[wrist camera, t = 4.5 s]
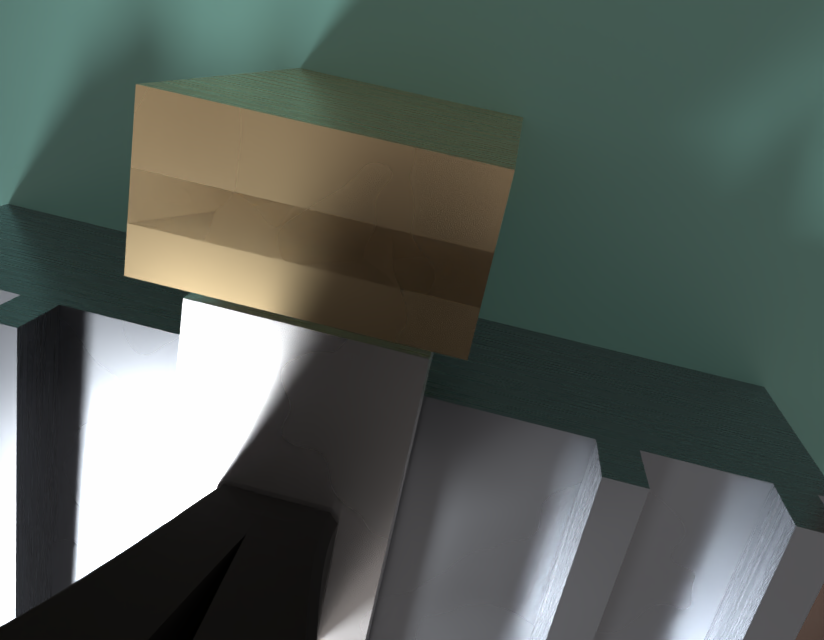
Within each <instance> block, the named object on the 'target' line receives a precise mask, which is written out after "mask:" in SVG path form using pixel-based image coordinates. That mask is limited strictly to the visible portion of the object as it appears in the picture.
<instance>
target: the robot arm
mask: <svg viewBox="0 0 824 640" xmlns="http://www.w3.org/2000/svg"><path fill="white" fill-rule="evenodd" d="M337 525H338V524H337V522H336V521H335V519H334V518H333V516H332V515H331V513H330V512H326V511H322V510H319V509H315V508H311V507H307V506H303V505H300V504H296V503H292V502H288V501H284V500H281V499H277V498H273V497H269V496H266V495H262V494H258V493H254V492H250V491H247V490H243V489H239V488H235V487H231V486H228V485H222V486H220V487H218V488H217V489H215V490H213V491H211V492H210V493H208V494H207V495H205V496H204V497H203V498H201V499H200V500H198V501H197V502H195V503H194V504H192V505H191V506H189V507H188V508H186V509H185V510H184V511H182V512H181V513H179V514H178V515H176V516H175V517H173V518H172V519H170V520H169V521H168V522H166V523H165V524H163V525H162V526H160V527H159V528H157V529H156V530H154V531H153V532H151V533H150V534H148V535H147V536H145V537H144V538H142V539H141V540H139V541H138V542H136V543H135V544H133V545H132V546H130V547H129V548H127V549H126V550H124V551H123V552H121V553H120V554H118V555H117V556H115V557H114V558H112V559H110V560H109V561H107V562H106V563H104V564H103V565H101V566H99V567H98V568H96V569H95V570H93V571H92V572H90V573H88V574H87V575H85V576H84V577H82V578H81V579H79V580H77V581H76V582H74V583H73V584H71V585H70V586H68V587H66V588H65V589H63V590H62V591H60V592H58V593H57V594H55V595H54V596H52V597H50V598H49V599H47V600H45V601H44V602H42V603H40V604H39V605H37V606H35V607H33V608H32V609H30V610H28V611H26V612H25V613H23V614H21V615H20V616H18V617H16V618H14V619H13V620H11V621H9V622H7V623H6V624H4V625H2V626H0V640H317V627H318V622H319V617H320V611H321V606H322V601H323V596H324V591H325V586H326V581H327V576H328V571H329V566H330V561H331V556H332V550H333V545H334V540H335V535H336V530H337Z"/></svg>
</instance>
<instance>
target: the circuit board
mask: <svg viewBox="0 0 824 640" xmlns="http://www.w3.org/2000/svg"><path fill="white" fill-rule="evenodd" d="M294 68H303V69H307V70H312V71H316V72H321V73H325V74H330V75H334V76H339V77H343V78H348V79H352V80H357V81H361V82H366V83H370V84H375V85H379V86H384V87H388V88H393V89H397V90H402V91H406V92H411V93H415V94H420V95H424V96H429V97H433V98H438V99H442V100H447V101H451V102H456V103H460V104H465V105H469V106H474V107H478V108H483V109H487V110H492V111H496V112H501V113H505V114H510V115H514V116H519V117H523V121H522V128H521V134H520V141H519V147H518V153H517V160H516V166H515V172H514V176H513V180H512V184H511V188H510V192H509V196H508V200H507V204H506V208H505V212H504V216H503V220H502V224H501V228H500V232H499V236H498V240H497V244H496V248H495V252H494V256H493V260H492V264H491V268H490V272H489V276H488V280H487V284H486V288H485V292H484V296H483V300H482V304H481V308H480V312H479V316H478V318H482V319H486V320H490V321H494V322H498V323H502V324H507V325H511V326H515V327H519V328H523V329H527V330H531V331H536V332H540V333H544V334H548V335H552V336H556V337H560V338H564V339H569V340H573V341H577V342H581V343H585V344H589V345H593V346H597V347H602V348H606V349H610V350H614V351H618V352H622V353H626V354H630V355H635V356H639V357H643V358H647V359H651V360H655V361H659V362H664V363H668V364H672V365H676V366H680V367H684V368H688V369H692V370H697V371H701V372H705V373H709V374H713V375H717V376H721V377H725V378H730V379H734V380H738V381H742V382H746V383H750V384H754V385H758V386H763V387H765V389H766V390H767V392H768V393H769V395H770V396H771V398H772V399H773V401H774V402H775V404H776V405H777V407H778V408H779V410H780V411H781V413H782V414H783V416H784V417H785V419H786V420H787V421H788V423H789V424H790V426H791V427H792V429H793V430H794V432H795V433H796V435H797V436H798V438H799V439H800V441H801V442H802V444H803V445H804V447H805V448H806V450H807V451H808V453H809V454H810V456H811V457H812V459H813V460H814V462H815V463H816V465H817V466H818V468H819V469H820V471H821V472H822V474H823V475H824V0H0V206H2V205H6V204H11V205H15V206H19V207H24V208H28V209H32V210H36V211H40V212H44V213H48V214H52V215H57V216H61V217H65V218H69V219H73V220H77V221H81V222H85V223H90V224H94V225H98V226H102V227H106V228H110V229H114V230H118V231H123V232H127V219H128V203H129V187H130V170H131V154H132V137H133V121H134V104H135V88H136V84H140V83H151V82H161V81H171V80H181V79H191V78H202V77H212V76H222V75H232V74H243V73H253V72H263V71H273V70H284V69H294Z"/></svg>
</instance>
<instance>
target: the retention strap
mask: <svg viewBox="0 0 824 640" xmlns="http://www.w3.org/2000/svg"><path fill="white" fill-rule="evenodd" d="M433 354H434V352H431V351H427V350H423V349H419V348H415V347H411V346H407V345H403V344H399V343H395V342H391V341H387V340H383V339H378V338H374V337H370V336H366V335H362V334H358V333H354V332H350V331H346V330H342V329H338V328H334V327H330V326H326V325H322V324H318V323H314V322H310V321H305V320H301V319H297V318H293V317H289V316H285V315H281V314H277V313H273V312H269V311H265V310H261V309H257V308H253V307H249V306H245V305H241V304H237V303H232V302H228V301H224V300H220V299H216V298H212V297H208V296H204V295H200V294H196V293H192V292H191V293H189V294H188V295H186V296H185V297H184V298H183V304H182V315H181V327H180V338H179V350H178V361H177V373H176V384H175V396H174V407H173V419H172V430H171V441H170V453H169V464H168V476H167V487H166V499H165V510H164V522H163V524H165V523H166V522H168V521H169V520H170V519H172V518H173V517H175V516H176V515H178V514H179V513H181V512H182V511H184V510H185V509H186V508H188V507H189V506H191V505H192V504H194V503H195V502H197V501H198V500H200V499H201V498H203V497H204V496H205V495H207V494H208V493H210V492H211V491H213V490H215V489H217V488H218V487H220V486H222V485H228V486H231V487H235V488H239V489H243V490H247V491H250V492H254V493H258V494H262V495H266V496H269V497H273V498H277V499H281V500H284V501H288V502H292V503H296V504H300V505H303V506H307V507H311V508H315V509H319V510H322V511H326V512H330V513H331V515H332V516H333V518H334V519H335V521H336V522H337V524H338V525H337V530H336V535H335V540H334V545H333V550H332V556H331V561H330V566H329V571H328V576H327V581H326V586H325V591H324V596H323V601H322V606H321V611H320V617H319V622H318V627H317V640H368V637H369V633H370V628H371V624H372V620H373V615H374V611H375V607H376V602H377V598H378V594H379V589H380V585H381V581H382V576H383V572H384V568H385V563H386V559H387V554H388V550H389V546H390V541H391V537H392V533H393V528H394V524H395V520H396V515H397V511H398V507H399V502H400V498H401V494H402V489H403V485H404V481H405V476H406V472H407V467H408V463H409V459H410V454H411V450H412V446H413V441H414V437H415V433H416V428H417V424H418V420H419V415H420V411H421V407H422V402H423V398H424V393H425V389H426V385H427V380H428V376H429V372H430V367H431V363H432V359H433Z"/></svg>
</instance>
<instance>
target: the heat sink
mask: <svg viewBox="0 0 824 640" xmlns="http://www.w3.org/2000/svg"><path fill="white" fill-rule="evenodd" d="M522 121H523V117H519V116H514V115H510V114H505V113H501V112H496V111H492V110H487V109H483V108H478V107H474V106H469V105H465V104H460V103H456V102H451V101H447V100H442V99H438V98H433V97H429V96H424V95H420V94H415V93H411V92H406V91H402V90H397V89H393V88H388V87H384V86H379V85H375V84H370V83H366V82H361V81H357V80H352V79H348V78H343V77H339V76H334V75H330V74H325V73H321V72H316V71H312V70H307V69H303V68H294V69H284V70H273V71H263V72H253V73H243V74H232V75H222V76H212V77H202V78H191V79H181V80H171V81H161V82H151V83H140V84H136V88H135V104H134V121H133V137H132V154H131V170H130V187H129V203H128V219H127V232H123V231H118V230H114V229H110V228H106V227H102V226H98V225H94V224H90V223H85V222H81V221H77V220H73V219H69V218H65V217H61V216H57V215H52V214H48V213H44V212H40V211H36V210H32V209H28V208H24V207H19V206H15V205H11V204H6V205H2V206H0V626H2V625H4V624H6V623H7V622H9V621H11V620H13V619H14V618H16V617H18V616H20V615H21V614H23V613H25V612H26V611H28V610H30V609H32V608H33V607H35V606H37V605H39V604H40V603H42V602H44V601H45V600H47V599H49V598H50V597H52V596H54V595H55V594H57V593H58V592H60V591H62V590H63V589H65V588H66V587H68V586H70V585H71V584H73V583H74V582H76V581H77V580H79V579H81V578H82V577H84V576H85V575H87V574H88V573H90V572H92V571H93V570H95V569H96V568H98V567H99V566H101V565H103V564H104V563H106V562H107V561H109V560H110V559H112V558H114V557H115V556H117V555H118V554H120V553H121V552H123V551H124V550H126V549H127V548H129V547H130V546H132V545H133V544H135V543H136V542H138V541H139V540H141V539H142V538H144V537H145V536H147V535H148V534H150V533H151V532H153V531H154V530H156V529H157V528H159V527H160V526H162V525H163V522H164V510H165V499H166V487H167V476H168V464H169V453H170V441H171V430H172V419H173V407H174V396H175V384H176V373H177V361H178V350H179V338H180V327H181V315H182V304H183V298H184V297H185V296H186V295H188V294H189V293H191V292H192V293H196V294H200V295H204V296H208V297H212V298H216V299H220V300H224V301H228V302H232V303H237V304H241V305H245V306H249V307H253V308H257V309H261V310H265V311H269V312H273V313H277V314H281V315H285V316H289V317H293V318H297V319H301V320H305V321H310V322H314V323H318V324H322V325H326V326H330V327H334V328H338V329H342V330H346V331H350V332H354V333H358V334H362V335H366V336H370V337H374V338H378V339H383V340H387V341H391V342H395V343H399V344H403V345H407V346H411V347H415V348H419V349H423V350H427V351H431V352H434V354H433V359H432V363H431V367H430V372H429V376H428V380H427V385H426V389H425V393H424V398H423V402H422V407H421V411H420V415H419V420H418V424H417V428H416V433H415V437H414V441H413V446H412V450H411V454H410V459H409V463H408V467H407V472H406V476H405V481H404V485H403V489H402V494H401V498H400V502H399V507H398V511H397V515H396V520H395V524H394V528H393V533H392V537H391V541H390V546H389V550H388V554H387V559H386V563H385V568H384V572H383V576H382V581H381V585H380V589H379V594H378V598H377V602H376V607H375V611H374V615H373V620H372V624H371V628H370V633H369V637H368V640H795V639H796V637H797V635H798V633H799V631H800V629H801V627H802V625H803V623H804V621H805V619H806V617H807V615H808V613H809V611H810V609H811V607H812V605H813V603H814V601H815V599H816V597H817V595H818V593H819V591H820V589H821V587H822V585H823V583H824V475H823V474H822V472H821V471H820V469H819V468H818V466H817V465H816V463H815V462H814V460H813V459H812V457H811V456H810V454H809V453H808V451H807V450H806V448H805V447H804V445H803V444H802V442H801V441H800V439H799V438H798V436H797V435H796V433H795V432H794V430H793V429H792V427H791V426H790V424H789V423H788V421H787V420H786V419H785V417H784V416H783V414H782V413H781V411H780V410H779V408H778V407H777V405H776V404H775V402H774V401H773V399H772V398H771V396H770V395H769V393H768V392H767V390H766V389H765V387H763V386H758V385H754V384H750V383H746V382H742V381H738V380H734V379H730V378H725V377H721V376H717V375H713V374H709V373H705V372H701V371H697V370H692V369H688V368H684V367H680V366H676V365H672V364H668V363H664V362H659V361H655V360H651V359H647V358H643V357H639V356H635V355H630V354H626V353H622V352H618V351H614V350H610V349H606V348H602V347H597V346H593V345H589V344H585V343H581V342H577V341H573V340H569V339H564V338H560V337H556V336H552V335H548V334H544V333H540V332H536V331H531V330H527V329H523V328H519V327H515V326H511V325H507V324H502V323H498V322H494V321H490V320H486V319H482V318H478V316H479V312H480V308H481V304H482V300H483V296H484V292H485V288H486V284H487V280H488V276H489V272H490V268H491V264H492V260H493V256H494V252H495V248H496V244H497V240H498V236H499V232H500V228H501V224H502V220H503V216H504V212H505V208H506V204H507V200H508V196H509V192H510V188H511V184H512V180H513V176H514V172H515V166H516V160H517V153H518V147H519V141H520V134H521V128H522Z"/></svg>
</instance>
